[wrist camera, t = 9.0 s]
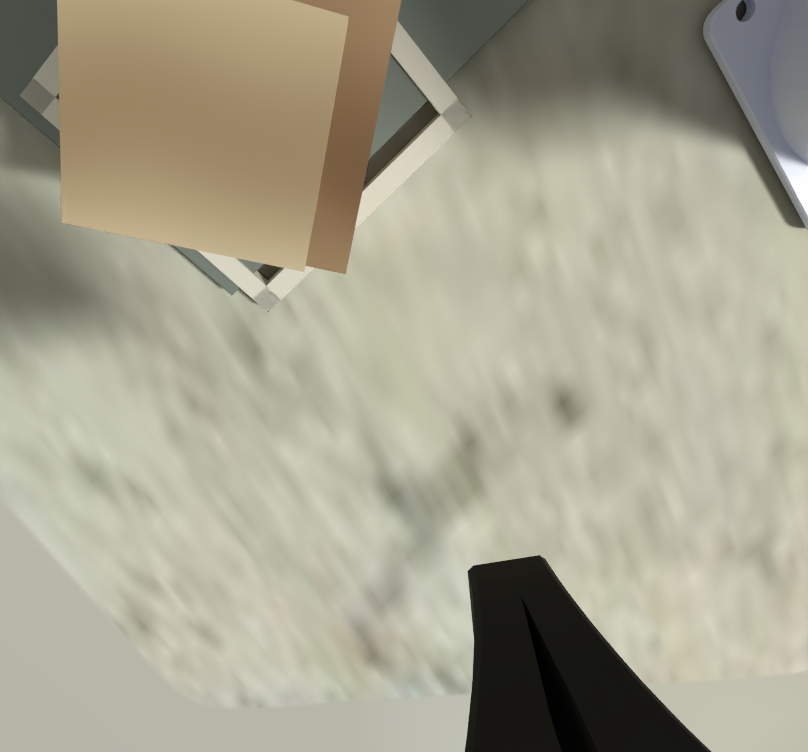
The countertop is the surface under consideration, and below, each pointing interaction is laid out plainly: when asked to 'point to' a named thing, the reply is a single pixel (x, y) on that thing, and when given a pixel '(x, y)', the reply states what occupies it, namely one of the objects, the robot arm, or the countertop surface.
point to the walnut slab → (351, 125)
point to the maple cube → (198, 121)
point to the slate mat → (402, 97)
